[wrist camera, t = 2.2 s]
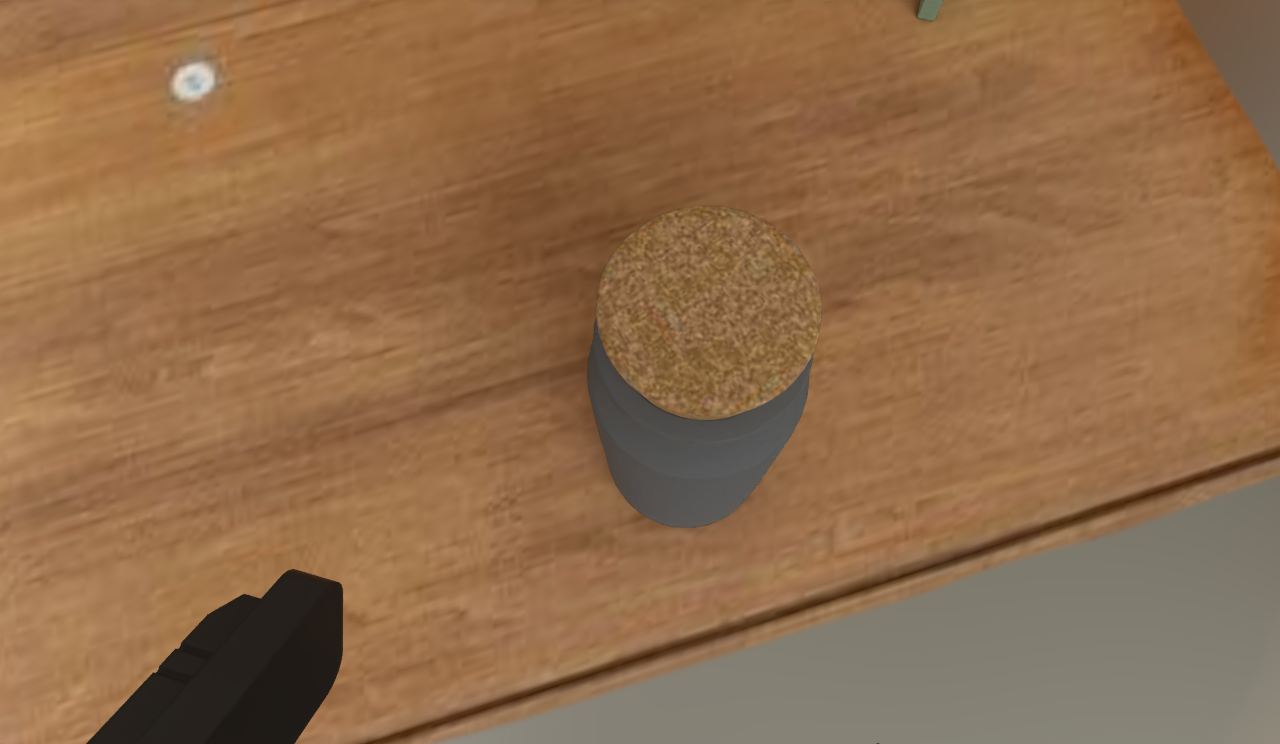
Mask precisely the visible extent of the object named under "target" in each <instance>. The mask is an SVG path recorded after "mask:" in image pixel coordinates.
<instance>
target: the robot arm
mask: <svg viewBox="0 0 1280 744" xmlns="http://www.w3.org/2000/svg"><path fill="white" fill-rule="evenodd" d="M342 653H343V588H342V585H341V584H340V583H339V582H336V581H333V580H329V579H326V578H322V577H319V576H316V575H312V574H309V573H305V572H302V571H299V570H295V569H291V570H289V571H287V572H285V573H284V574H283V575H282V576H281V577H280V578H279V579H278V580H277V581H276V583H275V584H274V585H273V586H272V587H271V588H270V589H269V590H268V592H267V593H266V594H265V595H264V596H263V597H262V598H261V599H260V598H256V597H253V596H250V595H246V594H243V595H241V596H239V597H238V598H236V599H234V600H232V601H231V602H229V603H227V604H225V605H224V606H222V607H220V608H218V609H217V610H215V611H213V612H211V613H210V614H208V615H207V616H206V617H205V618H204V619H203V620H202V621H201V622H200V623H199V625H198V626H197V627H196V628H195V629H194V630H193V631H192V632H191V633H190V634H189V635H188V636H187V637H186V638H185V639H184V640H183V642H182V643H181V646H180V648H179V649H175V650H174V651H173V652H172V653H171V654H170V655H169V656H168V657H167V659H166V660H165V661H164V662H163V663H162V664H161V665H160V666H159V669H158V671H157V672H156V673H154V672H153V673H152V674H151V676H150V677H149V678H148V679H147V680H146V681H145V682H144V683H143V684H142V685H141V686H140V687H139V688H138V689H137V690H136V691H135V693H134V694H133V695H132V696H131V697H130V698H129V699H128V700H127V701H126V702H125V703H124V704H123V705H122V706H121V707H120V708H119V710H118V711H117V712H116V713H115V714H114V715H113V716H112V717H111V718H110V719H109V720H108V721H107V722H106V723H105V724H104V725H103V727H102V728H101V729H100V730H99V731H98V732H97V733H96V734H95V735H94V736H93V737H92V738H91V739H90V740H89V741H88V742H87V744H294V743H295V742H296V740H297V739H298V737H299V736H300V735H301V733H302V732H303V730H304V729H305V727H306V726H307V724H308V723H309V721H310V720H311V718H312V717H313V715H314V714H315V712H316V711H317V709H318V708H319V707H320V705H321V704H322V702H323V701H324V699H325V698H326V696H327V695H328V693H329V691H330V689H331V687H332V685H333V683H334V681H335V679H336V676H337V674H338V671H339V668H340V664H341V660H342ZM877 744H878V743H877Z"/></svg>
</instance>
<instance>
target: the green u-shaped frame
mask: <svg viewBox="0 0 1280 744" xmlns="http://www.w3.org/2000/svg"><path fill="white" fill-rule="evenodd" d="M943 1H944V0H920V5H919V9H918V14H917V18H920V19H925V20H930V21H934V20H935V18H936V16H937V14H938V12H939V9H940V7H941V5H942V3H943Z"/></svg>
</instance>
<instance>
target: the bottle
mask: <svg viewBox="0 0 1280 744" xmlns="http://www.w3.org/2000/svg"><path fill="white" fill-rule="evenodd" d="M821 317H822V308H821V299H820V292H819V288H818V285H817V281H816V279H815V276H814V274H813V272H812V270H811V268H810V266H809V264H808V262H807V260H806V259H805V257H804V256H803V254H802V253H801V251H800V250H799V249H798V247H797V246H796V245H795V244H794V243H793V242H792V241H791V240H790V239H789V238H788V237H787V236H786V235H784V234H783V233H782V232H781V231H780V230H779V229H777V228H776V227H775V226H773V225H771V224H770V223H768V222H767V221H765V220H763V219H761V218H758V217H756V216H754V215H752V214H750V213H747V212H744V211H740V210H736V209H731V208H727V207H721V206H695V207H688V208H682V209H678V210H674V211H671V212H668V213H665V214H662V215H660V216H658V217H656V218H654V219H652V220H650V221H648V222H647V223H645V224H643V225H642V226H640V227H639V228H638V229H636V230H635V231H634V232H633V233H631V234H630V235H629V236H628V237H627V238H626V239H625V240H624V241H623V242H622V243H621V245H620V246H619V247H618V248H617V249H616V251H615V252H614V254H613V255H612V257H611V258H610V260H609V262H608V264H607V266H606V268H605V270H604V273H603V275H602V278H601V281H600V284H599V289H598V293H597V304H596V319H595V323H594V335H593V341H592V345H591V349H590V354H589V358H588V373H587V378H588V388H589V396H590V400H591V404H592V408H593V412H594V416H595V420H596V423H597V427H598V431H599V435H600V438H601V441H602V445H603V448H604V451H605V454H606V458H607V461H608V464H609V468H610V471H611V474H612V476H613V479H614V481H615V483H616V485H617V487H618V489H619V490H620V492H621V493H622V495H623V496H624V497H625V499H626V500H627V501H628V503H629V504H631V505H632V506H633V507H634V508H635V509H636V510H637V511H638V512H640V513H641V514H642V515H644V516H646V517H648V518H650V519H652V520H654V521H656V522H658V523H661V524H664V525H668V526H672V527H681V528H695V527H700V526H705V525H708V524H711V523H714V522H716V521H718V520H720V519H723V518H725V517H726V516H728V515H729V514H731V513H732V512H734V511H735V510H736V509H737V508H738V507H739V506H740V505H741V504H742V503H743V502H744V501H745V500H746V499H747V498H748V496H749V495H750V494H751V493H752V491H753V490H754V489H755V487H756V486H757V485H758V483H759V482H760V480H761V479H762V477H763V476H764V474H765V473H766V472H767V470H768V469H769V467H770V466H771V464H772V463H773V461H774V460H775V458H776V457H777V456H778V454H779V453H780V451H781V450H782V448H783V447H784V445H785V444H786V442H787V441H788V440H789V438H790V436H791V435H792V433H793V431H794V429H795V427H796V425H797V423H798V421H799V419H800V417H801V415H802V412H803V409H804V406H805V402H806V399H807V395H808V384H809V373H810V369H811V366H812V361H813V354H814V349H815V347H816V344H817V340H818V336H819V332H820V327H821Z"/></svg>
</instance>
